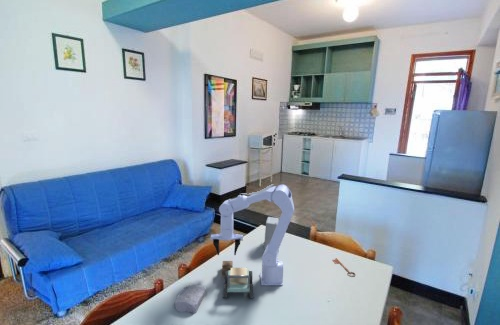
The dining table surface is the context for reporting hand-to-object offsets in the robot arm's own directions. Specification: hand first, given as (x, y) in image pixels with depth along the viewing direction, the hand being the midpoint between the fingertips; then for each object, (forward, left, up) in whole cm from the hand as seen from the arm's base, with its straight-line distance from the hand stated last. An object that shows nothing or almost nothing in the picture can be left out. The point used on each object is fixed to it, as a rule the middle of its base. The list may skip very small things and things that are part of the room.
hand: (226, 254), depth 119 cm
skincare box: (-24, -24, -10) cm, 35 cm away
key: (-57, -4, -10) cm, 58 cm away
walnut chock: (0, 0, -10) cm, 10 cm away
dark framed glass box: (-6, +12, -10) cm, 16 cm away
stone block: (+13, +18, -10) cm, 25 cm away
